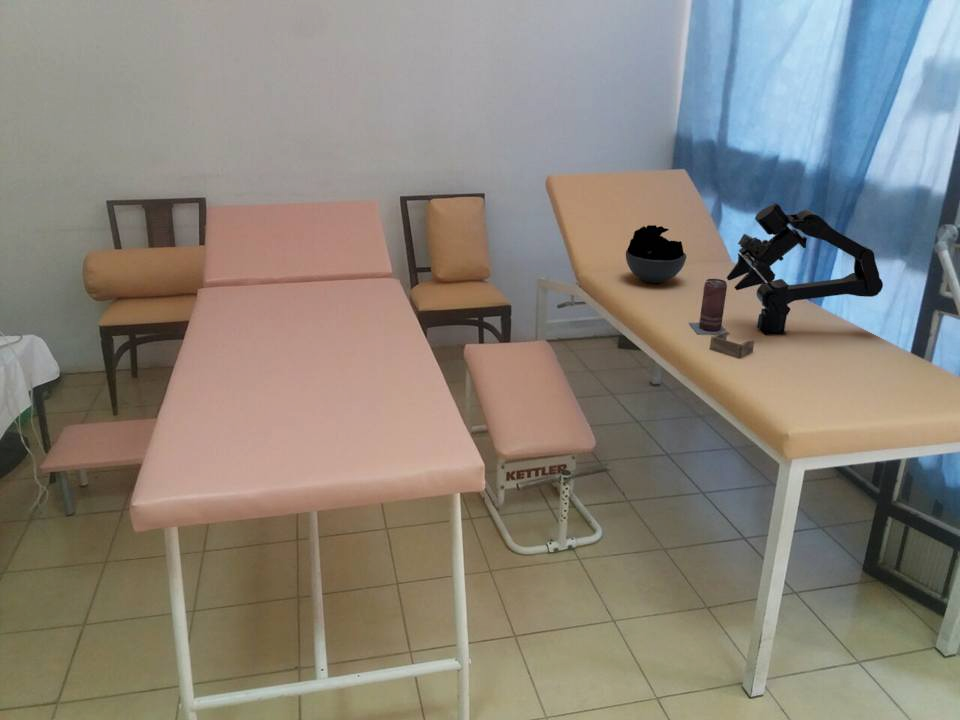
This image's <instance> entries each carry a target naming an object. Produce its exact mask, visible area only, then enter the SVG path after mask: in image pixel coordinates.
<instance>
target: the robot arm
mask: <svg viewBox="0 0 960 720" xmlns="http://www.w3.org/2000/svg"><path fill="white" fill-rule="evenodd" d="M754 220H755V221H756V223H758V225H759V226H760V227H761V229H763V230H764V232H765V233H766V234H767V235H768V236H769V235H773V236H772V237H771V238H770V239H769V240H767V239H763V240H761V239H760V238H758V237H752V236H749V235H748V234H746V233H743V235H742V237H740V240H739V241H738V242H737V244H738V245H739V246H740V247H741V248H740V249H738V253H737V256H738V257H737V262H736V263H735V265H734V267H733V268H732V269H731V271H730V272H729V273H728V275H727V276H726V279H727V280H728V281H731V280H735V279H737V278H739V277H741V276H744V277H742V279H740V281H739V282H737V284H736V285H735V286H734V290H736V291H739V290H743V289H747V288H751V287H755V286H759V285H760V286H759V287H758V288H757V289H756V297H757V300H758V301H760V304H761V306H762V307H763V308H761V310H760V311H761V312H760V313H759V314H758V318H757V323H756V324H757V325H756V327H755V328H757V329H758V331H759V332H761V333H762V334H763V335H767V336H769V335H773V336H774V335H775V336H778V335H782V336H783V335H785V336H786V335H787V332H786V330H785V328H786V323H787V317H788V315H789V313H790V311H791V308H790V307H789V304H791V303H793V302H795V301H802V300H810V299H812V300H813V299H819V298H826V297H833V296H842V295H850V296H855V297H864V298H866V297H870V298H871V297H872V298H873V297H875V296H876V297H877V296H878V295H879V294H880V293H881V292H882V290H883V286H884V283H883V280H882V279H881V278H880V271H879V268H878V266H877V262H876V257H875V253H874V251H873V250H872V249H870V248H869V247H868V246H865V245H862V244H860V243H858V242H857V241H856V240H854V239H852V238H850V237H848V236H846V235H844V234H843V233H841V232H839V231H837V230H836V229H834V228H833V227H832V226H830V224H828V222H826V220H824V219H823V218H822V217H820V216H819V215H818V214H817V213H815V212H813V211H812V210H809V209H804V210H801V211H800V212H798V213H794V214H792V213H791V214H786V213H785V212H784V211H783V210H782V207H781V206H780V205H779V204H778V203H777V202H775V203H773V204H772V205H769V206H766V207H765V208H762V209H761V210H760V211H758V213H757V214H756V216H755V218H754ZM788 225H789V226H790V227H792V228H793V229H791V228H790V227H789V226H788ZM797 230H799V232H798V231H797ZM800 232H801V233H802V234H804V235H805V236H802V235H801V234H800ZM807 236H808V237H811V238H815V239H818V240H820V241H821V240H822V241H825V242H827V243H829V244H830V245H832V246H834V247H836V248H838V250H839V249H840V250H841V251H843V252H845V253H846V254H848V255H850V256H851V257H852V258H854V264H853V272H852V273H849V274H848V275H846V276H844V277H840V278H835V279H828V280H820V281H812V282H804V283H803V282H802V283H795V284H789V283H787V282H786V281H785V280H784V279H783V278H781V279H780V278H779V279H775V278H776V273H774V272H773V270H772V268H771V267H772V266H773V265H774V264H776V262H777V261H780V262H782V261H784V256H786V254H788V252H790V251H791V250H793V249H794V248H795V247H797V245H799V246H801V248H803V249H806V248H807V241H808V238H807Z"/></svg>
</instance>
